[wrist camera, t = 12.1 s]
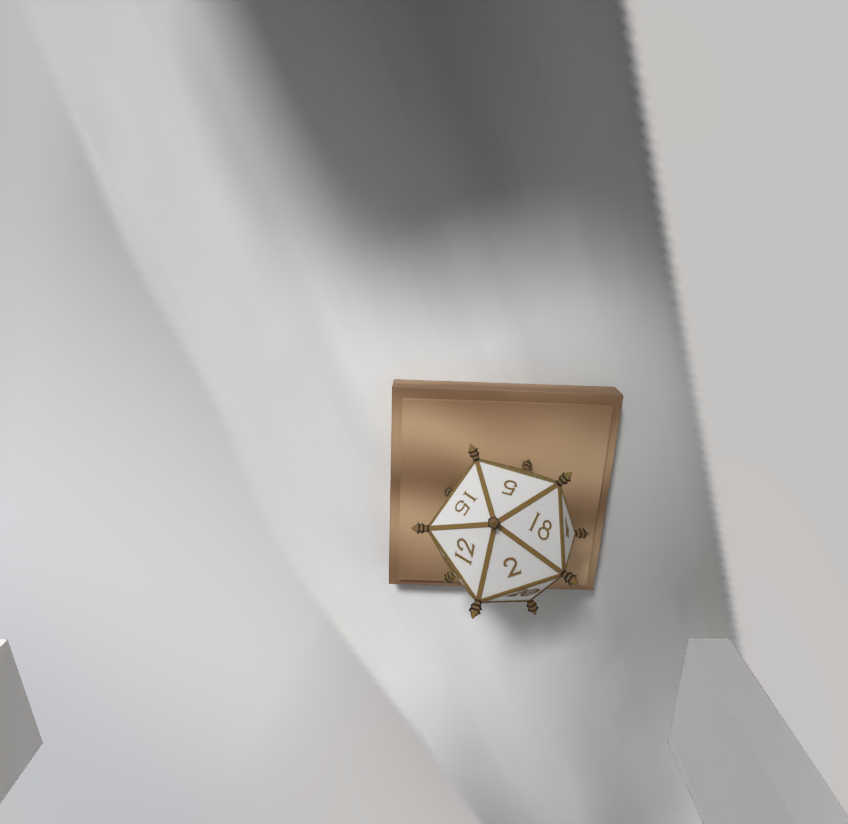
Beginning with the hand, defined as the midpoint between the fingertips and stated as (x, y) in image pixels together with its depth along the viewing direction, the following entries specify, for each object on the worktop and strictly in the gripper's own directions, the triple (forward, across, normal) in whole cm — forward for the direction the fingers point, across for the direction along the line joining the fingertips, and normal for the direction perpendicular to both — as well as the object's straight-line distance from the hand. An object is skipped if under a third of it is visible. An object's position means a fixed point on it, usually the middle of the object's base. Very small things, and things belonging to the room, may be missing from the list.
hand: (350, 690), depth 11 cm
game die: (+22, +5, -8) cm, 23 cm away
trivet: (+23, +6, -8) cm, 25 cm away
